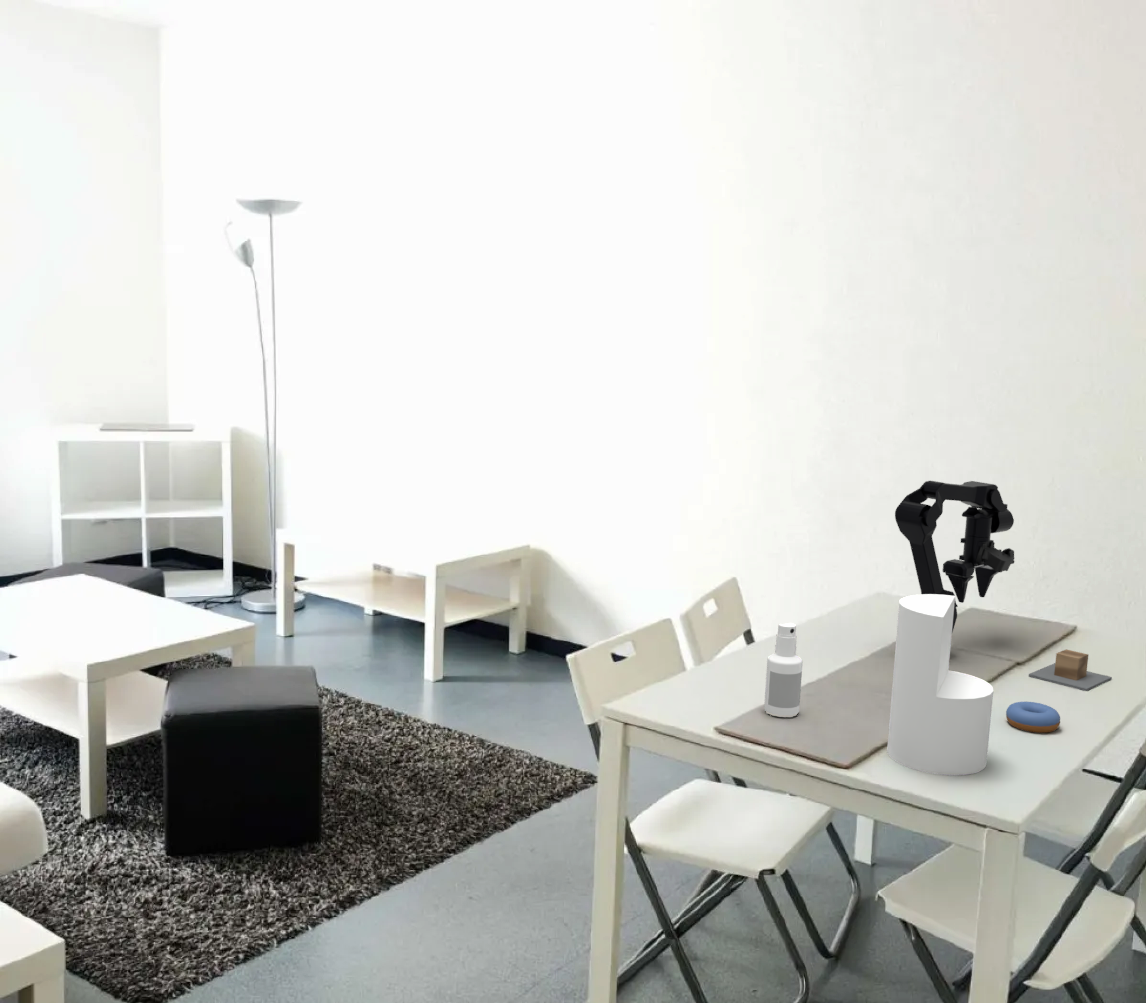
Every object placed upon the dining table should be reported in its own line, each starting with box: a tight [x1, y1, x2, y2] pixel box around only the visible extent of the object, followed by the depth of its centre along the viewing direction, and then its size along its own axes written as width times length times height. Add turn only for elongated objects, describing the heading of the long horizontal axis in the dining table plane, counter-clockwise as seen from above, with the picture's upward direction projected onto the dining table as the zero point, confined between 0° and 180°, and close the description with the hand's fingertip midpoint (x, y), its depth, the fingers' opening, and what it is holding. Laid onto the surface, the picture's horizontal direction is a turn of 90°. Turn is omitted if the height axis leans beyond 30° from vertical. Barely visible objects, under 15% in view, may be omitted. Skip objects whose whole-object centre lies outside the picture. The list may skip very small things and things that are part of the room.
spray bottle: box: [763, 622, 804, 715], centre depth 237 cm, size 7×7×18 cm
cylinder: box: [886, 593, 994, 776], centre depth 216 cm, size 17×17×28 cm
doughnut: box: [1005, 701, 1061, 734], centre depth 236 cm, size 10×10×5 cm
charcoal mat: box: [1028, 662, 1113, 692], centre depth 268 cm, size 13×13×1 cm
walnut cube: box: [1054, 649, 1089, 681], centre depth 267 cm, size 5×5×5 cm
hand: (971, 599), depth 287 cm, fingers open, 9 cm apart
